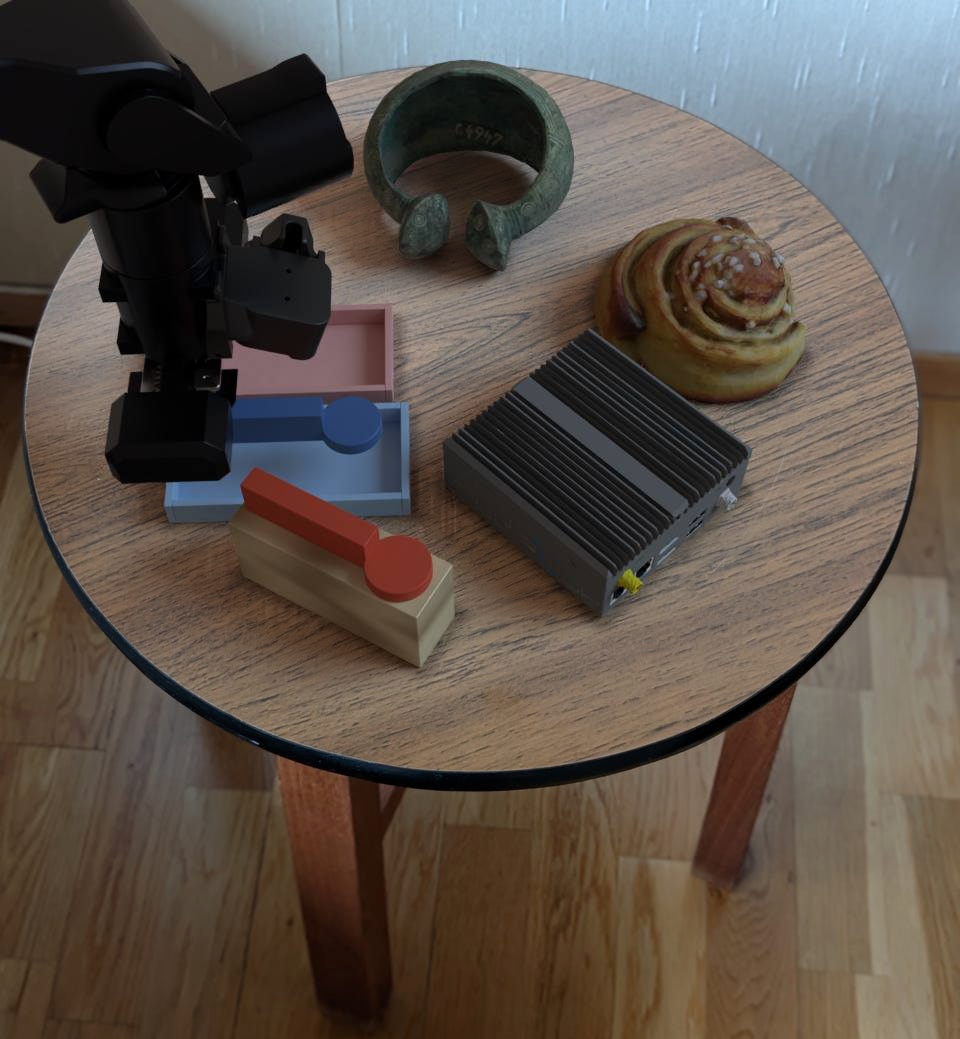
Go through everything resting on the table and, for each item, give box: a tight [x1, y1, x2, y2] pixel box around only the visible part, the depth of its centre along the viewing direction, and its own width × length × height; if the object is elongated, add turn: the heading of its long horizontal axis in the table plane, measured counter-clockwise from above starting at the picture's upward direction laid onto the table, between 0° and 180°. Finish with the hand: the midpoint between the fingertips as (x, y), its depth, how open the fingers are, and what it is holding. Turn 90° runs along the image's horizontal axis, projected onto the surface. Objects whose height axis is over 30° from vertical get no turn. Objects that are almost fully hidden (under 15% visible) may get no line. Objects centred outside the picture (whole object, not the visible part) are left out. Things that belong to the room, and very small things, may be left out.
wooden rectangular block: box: [227, 503, 455, 668], centre depth 78 cm, size 13×4×6 cm, turn 60°
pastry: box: [592, 216, 807, 404], centre depth 89 cm, size 13×15×8 cm
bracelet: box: [362, 59, 575, 272], centre depth 94 cm, size 15×15×10 cm
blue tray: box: [163, 401, 412, 524], centre depth 84 cm, size 15×8×2 cm, turn 92°
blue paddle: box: [231, 396, 383, 455], centre depth 81 cm, size 12×4×2 cm, turn 92°
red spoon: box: [240, 467, 433, 602], centre depth 74 cm, size 12×4×2 cm, turn 60°
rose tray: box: [222, 303, 395, 405], centre depth 89 cm, size 15×8×2 cm, turn 92°
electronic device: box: [441, 327, 753, 619], centre depth 82 cm, size 13×15×5 cm
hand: (207, 424), depth 81 cm, fingers closed on blue paddle, 1 cm apart
